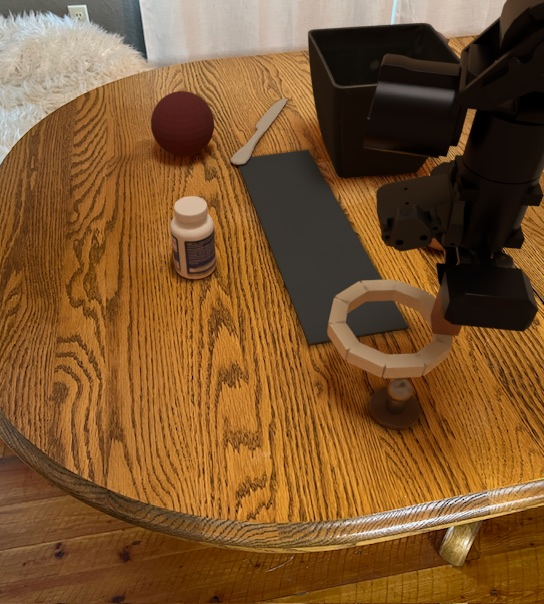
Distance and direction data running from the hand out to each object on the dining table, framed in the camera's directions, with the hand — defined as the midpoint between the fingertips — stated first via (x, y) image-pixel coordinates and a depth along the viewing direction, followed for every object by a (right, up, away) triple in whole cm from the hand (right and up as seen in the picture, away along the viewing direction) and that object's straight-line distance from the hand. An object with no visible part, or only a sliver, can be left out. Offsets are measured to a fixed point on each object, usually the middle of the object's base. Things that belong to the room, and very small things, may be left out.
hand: (450, 308), depth 56 cm
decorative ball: (-28, +25, +42) cm, 56 cm away
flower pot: (+2, +24, +40) cm, 47 cm away
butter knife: (-15, +30, +46) cm, 57 cm away
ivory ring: (-5, -2, +3) cm, 6 cm away
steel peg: (-4, -10, +6) cm, 13 cm away
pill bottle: (-25, +5, +22) cm, 34 cm away
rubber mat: (-9, +10, +27) cm, 30 cm away
